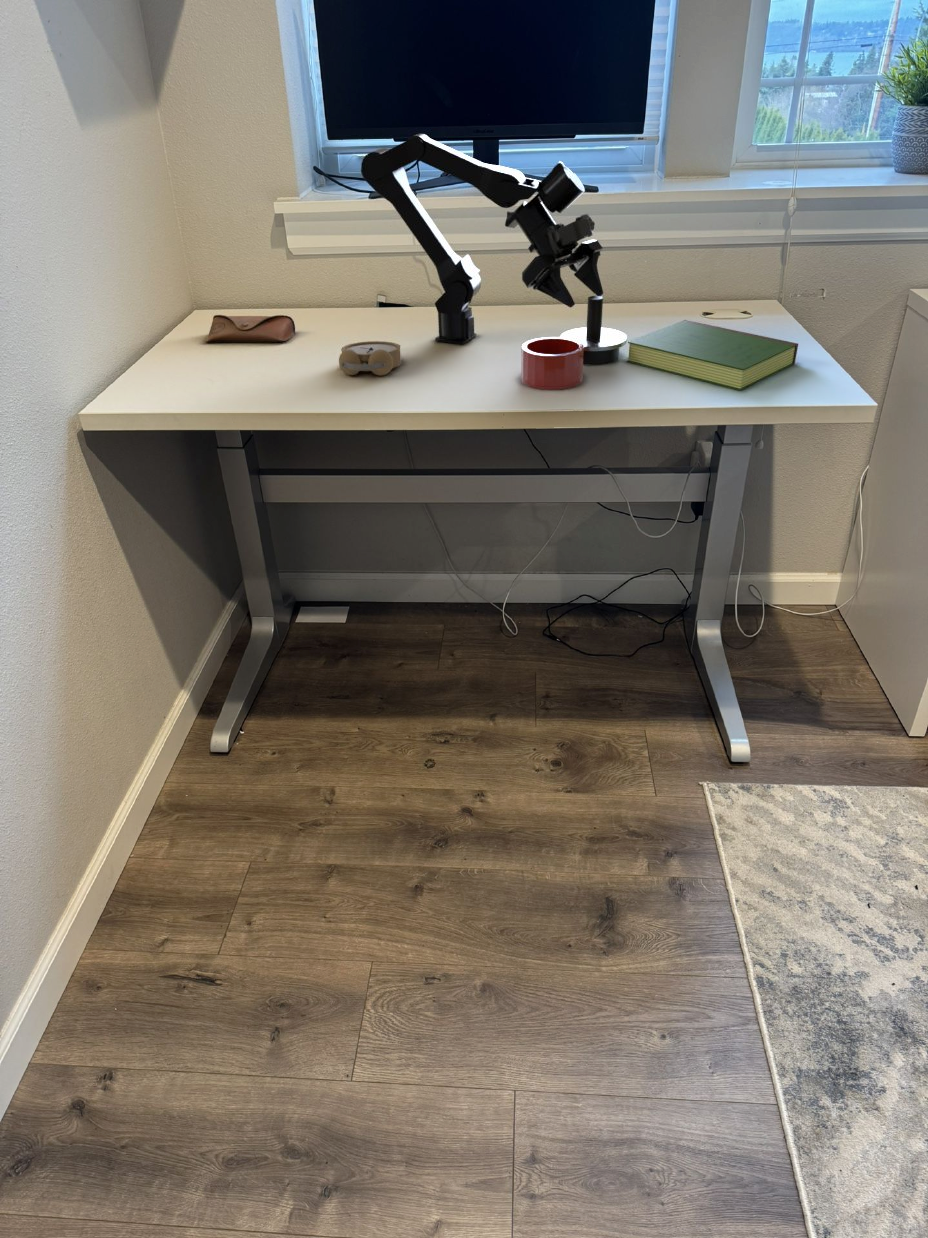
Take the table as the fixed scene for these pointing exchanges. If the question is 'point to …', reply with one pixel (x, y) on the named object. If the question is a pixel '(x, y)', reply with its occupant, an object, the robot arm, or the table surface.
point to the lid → (596, 330)
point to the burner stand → (600, 357)
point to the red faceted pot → (552, 363)
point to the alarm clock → (370, 357)
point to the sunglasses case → (251, 329)
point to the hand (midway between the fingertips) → (587, 300)
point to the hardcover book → (712, 354)
